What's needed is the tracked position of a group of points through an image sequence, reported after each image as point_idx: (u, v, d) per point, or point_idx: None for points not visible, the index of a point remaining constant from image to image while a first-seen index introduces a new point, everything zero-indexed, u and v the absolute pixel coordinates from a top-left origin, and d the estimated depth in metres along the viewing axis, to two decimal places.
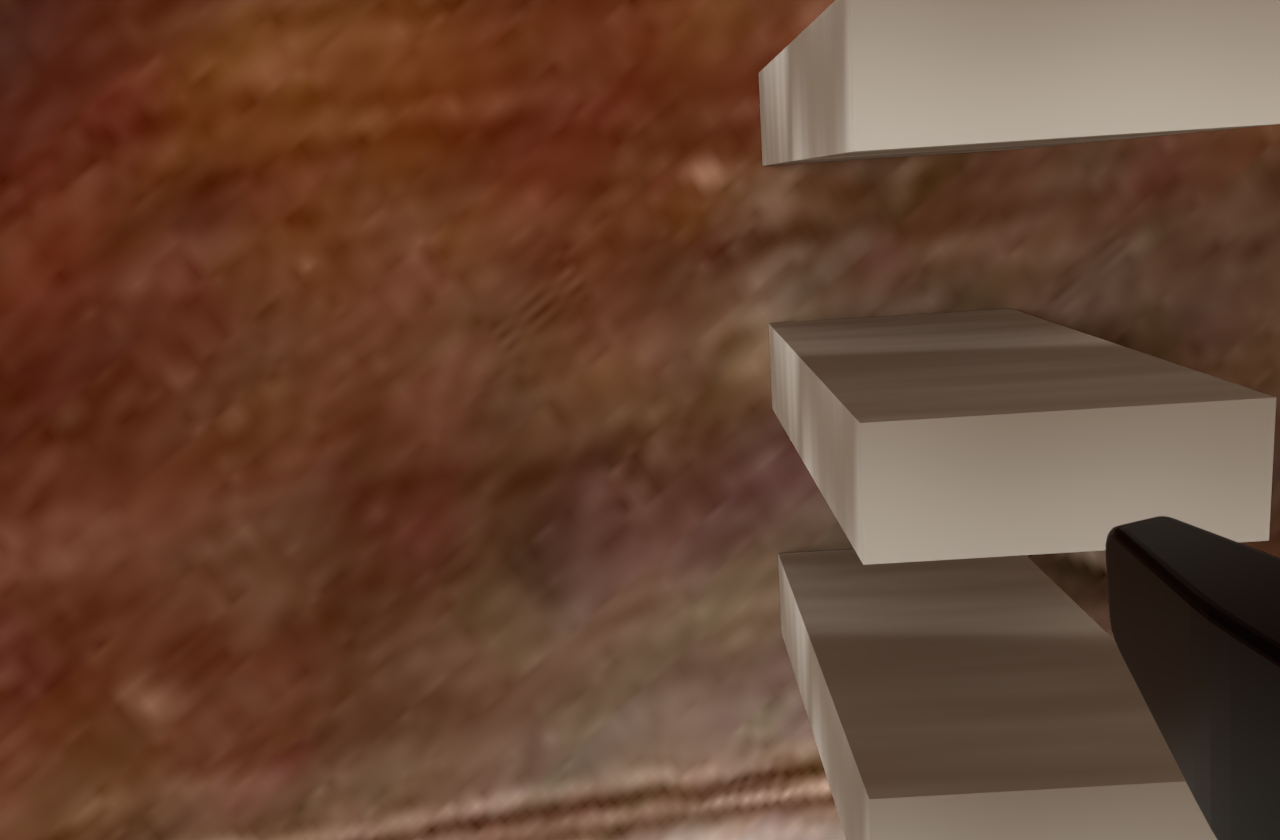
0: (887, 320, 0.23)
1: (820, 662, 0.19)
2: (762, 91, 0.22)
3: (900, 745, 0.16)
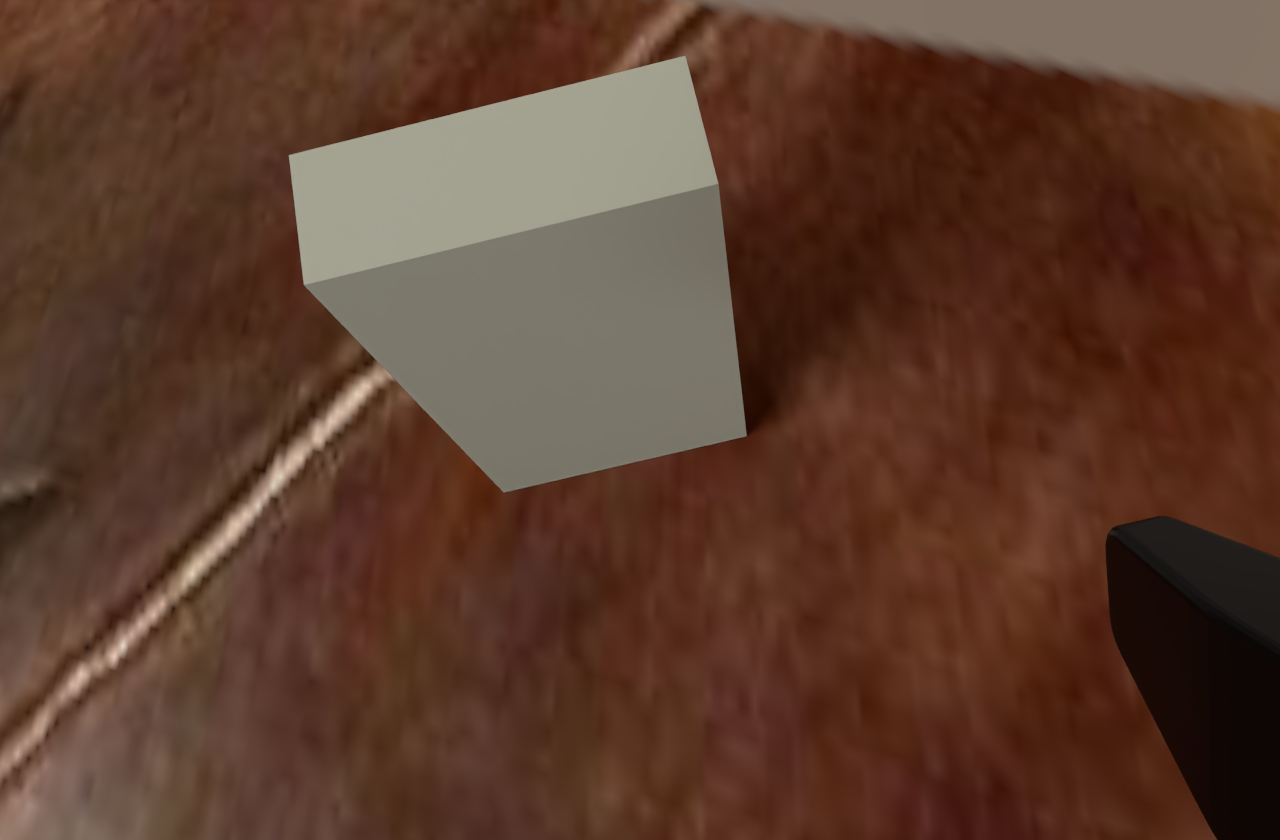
0: None
1: None
2: None
3: None
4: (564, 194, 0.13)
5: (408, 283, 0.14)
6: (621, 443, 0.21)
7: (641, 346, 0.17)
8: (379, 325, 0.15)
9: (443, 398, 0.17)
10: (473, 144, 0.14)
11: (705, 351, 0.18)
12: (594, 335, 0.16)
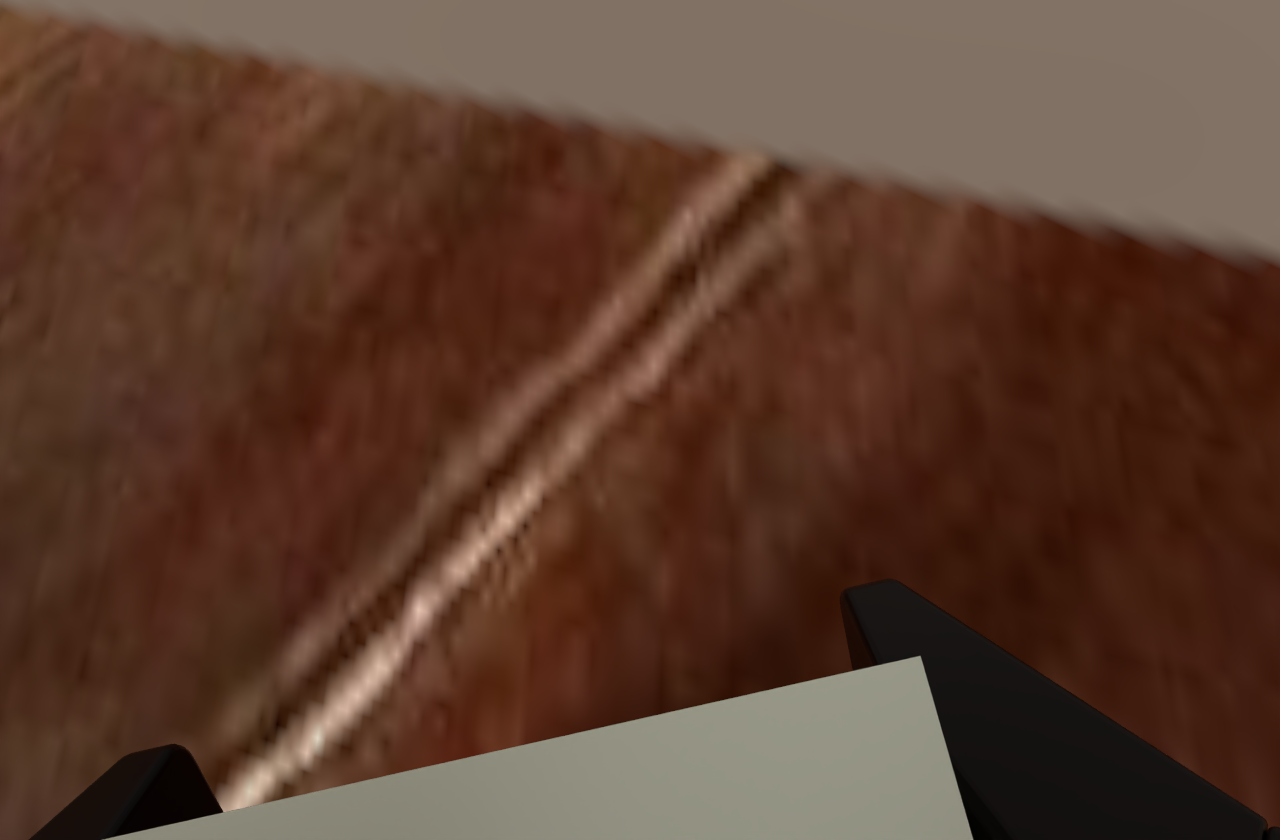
0: None
1: None
2: None
3: None
4: None
5: None
6: None
7: None
8: None
9: None
10: None
11: None
12: None
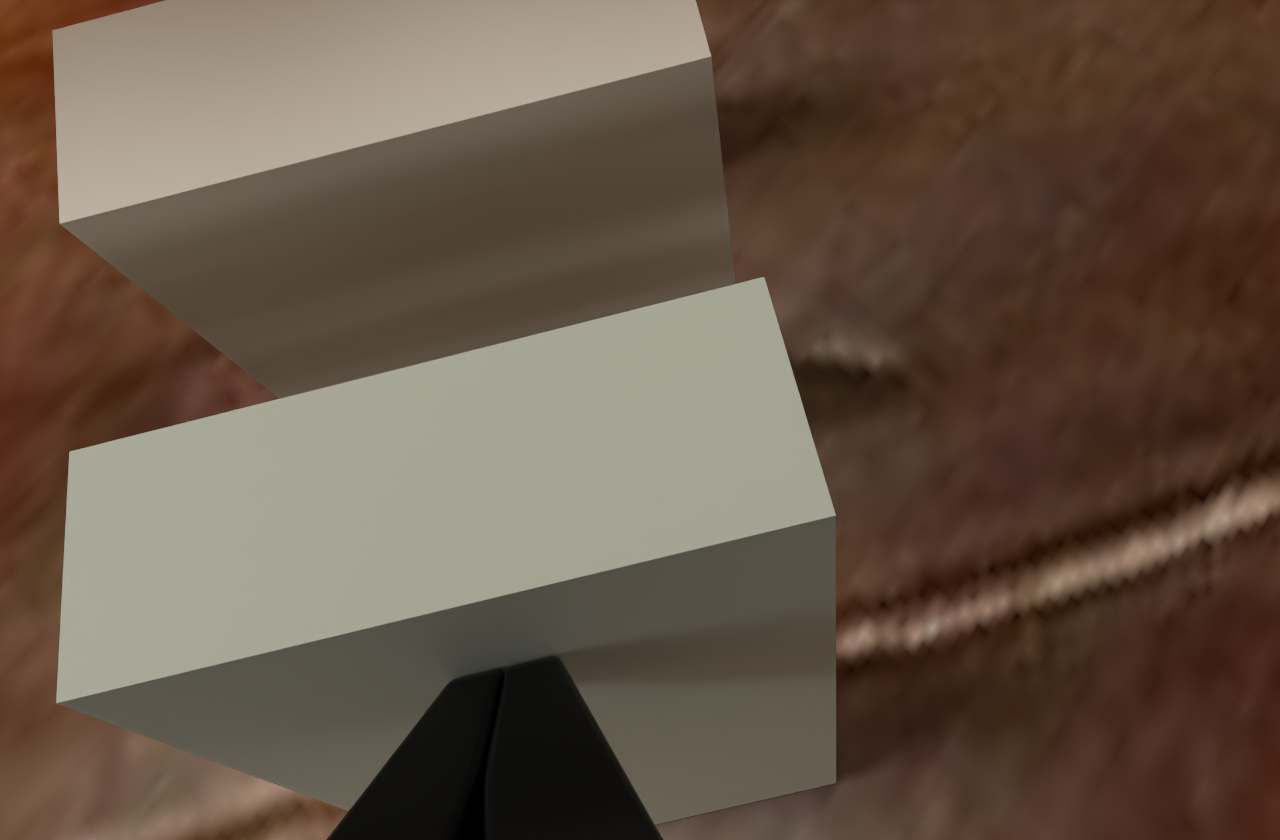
0: None
1: None
2: None
3: None
4: (546, 531, 0.07)
5: (262, 685, 0.08)
6: (656, 807, 0.15)
7: (687, 718, 0.11)
8: (229, 735, 0.08)
9: None
10: (386, 434, 0.08)
11: (787, 713, 0.11)
12: (609, 713, 0.10)
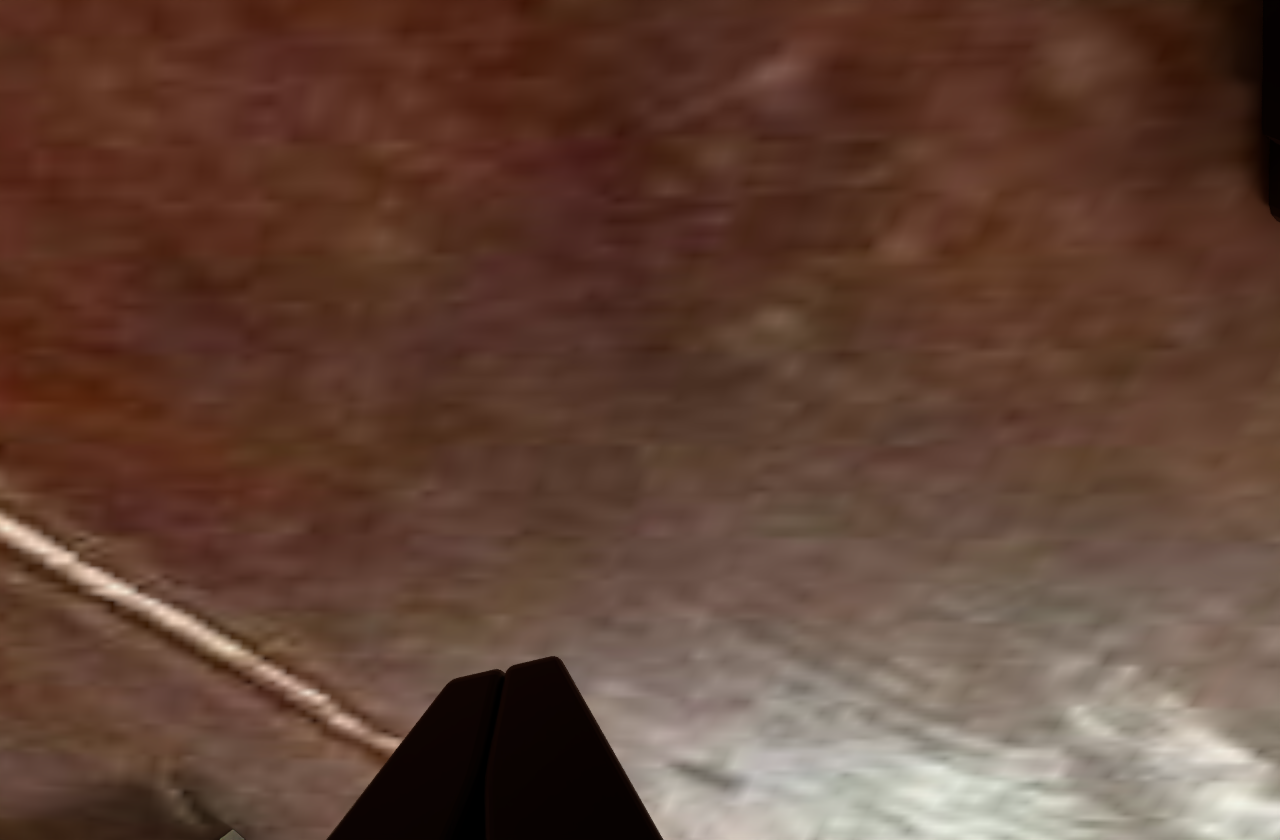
0: None
1: None
2: None
3: None
4: None
5: None
6: None
7: None
8: None
9: None
10: None
11: None
12: None
